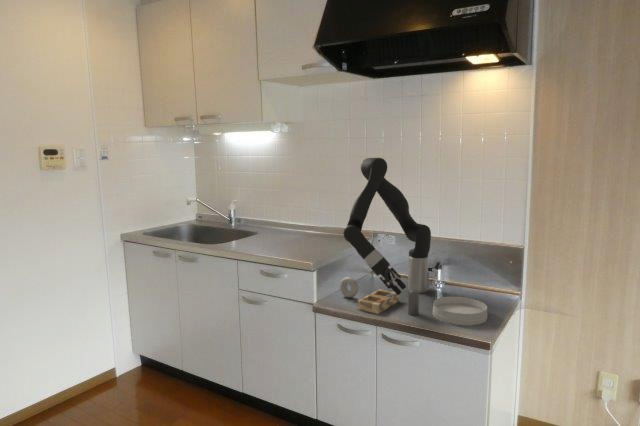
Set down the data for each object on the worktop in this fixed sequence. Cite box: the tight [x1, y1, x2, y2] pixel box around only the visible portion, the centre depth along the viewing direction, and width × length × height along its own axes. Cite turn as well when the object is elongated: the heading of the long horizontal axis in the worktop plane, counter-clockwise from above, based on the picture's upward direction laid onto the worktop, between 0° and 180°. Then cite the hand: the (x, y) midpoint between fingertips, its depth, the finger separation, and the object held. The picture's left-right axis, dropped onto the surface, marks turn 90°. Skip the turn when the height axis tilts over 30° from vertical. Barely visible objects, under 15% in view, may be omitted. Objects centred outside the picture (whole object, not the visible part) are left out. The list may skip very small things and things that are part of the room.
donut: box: [339, 276, 359, 299], centre depth 220 cm, size 10×3×10 cm, turn 50°
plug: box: [407, 289, 420, 317], centre depth 198 cm, size 4×4×10 cm
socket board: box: [357, 288, 400, 315], centre depth 209 cm, size 20×10×4 cm, turn 145°
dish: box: [432, 296, 488, 326], centre depth 196 cm, size 22×22×5 cm
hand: (402, 290), depth 199 cm, fingers open, 8 cm apart
